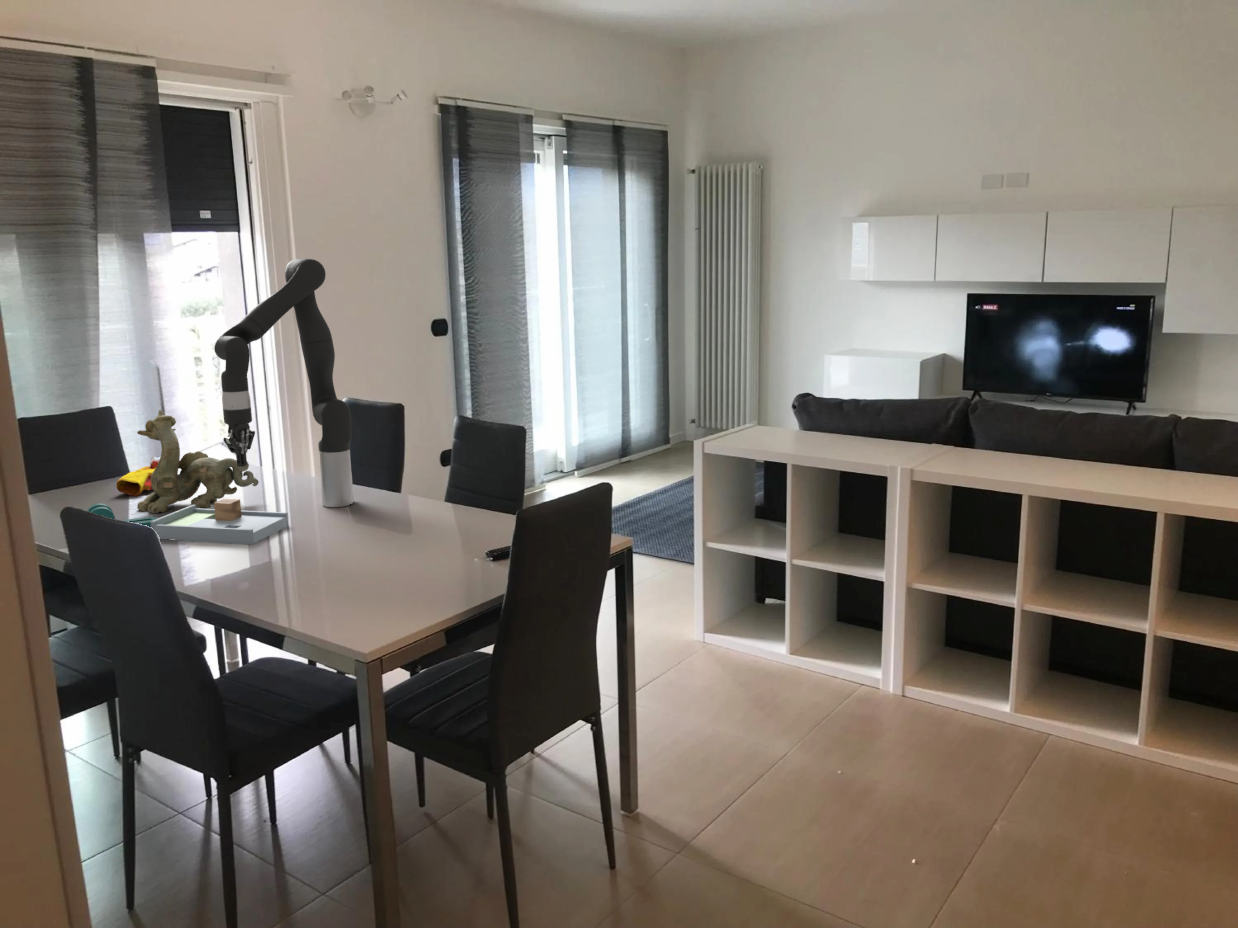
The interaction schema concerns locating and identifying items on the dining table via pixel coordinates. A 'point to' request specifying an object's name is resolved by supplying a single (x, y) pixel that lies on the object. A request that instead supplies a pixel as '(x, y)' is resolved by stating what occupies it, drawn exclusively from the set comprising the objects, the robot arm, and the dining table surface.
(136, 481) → the toy
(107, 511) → the bracket
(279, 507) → the dining table surface
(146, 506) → the sculpture
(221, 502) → the block
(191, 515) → the tray
